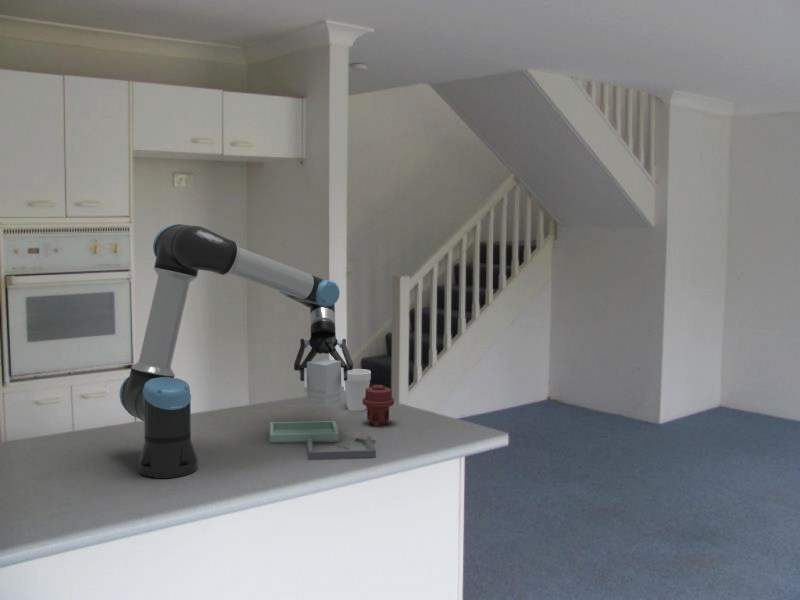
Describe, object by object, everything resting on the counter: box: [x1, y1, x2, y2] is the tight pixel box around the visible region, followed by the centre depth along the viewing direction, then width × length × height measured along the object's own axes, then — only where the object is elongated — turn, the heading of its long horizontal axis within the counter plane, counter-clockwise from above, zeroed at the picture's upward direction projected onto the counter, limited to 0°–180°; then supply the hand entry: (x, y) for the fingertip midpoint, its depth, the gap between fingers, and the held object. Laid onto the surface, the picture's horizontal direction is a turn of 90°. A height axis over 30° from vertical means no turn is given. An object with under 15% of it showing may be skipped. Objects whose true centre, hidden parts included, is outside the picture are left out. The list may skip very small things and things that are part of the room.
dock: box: [306, 435, 377, 460], centre depth 235 cm, size 18×15×2 cm
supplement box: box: [306, 357, 342, 408], centre depth 241 cm, size 7×7×13 cm
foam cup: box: [344, 368, 372, 412], centre depth 283 cm, size 10×9×13 cm
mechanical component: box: [363, 384, 395, 427], centre depth 264 cm, size 12×10×10 cm
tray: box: [269, 420, 339, 445], centre depth 249 cm, size 20×14×3 cm
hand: (324, 389), depth 238 cm, fingers closed on supplement box, 10 cm apart
